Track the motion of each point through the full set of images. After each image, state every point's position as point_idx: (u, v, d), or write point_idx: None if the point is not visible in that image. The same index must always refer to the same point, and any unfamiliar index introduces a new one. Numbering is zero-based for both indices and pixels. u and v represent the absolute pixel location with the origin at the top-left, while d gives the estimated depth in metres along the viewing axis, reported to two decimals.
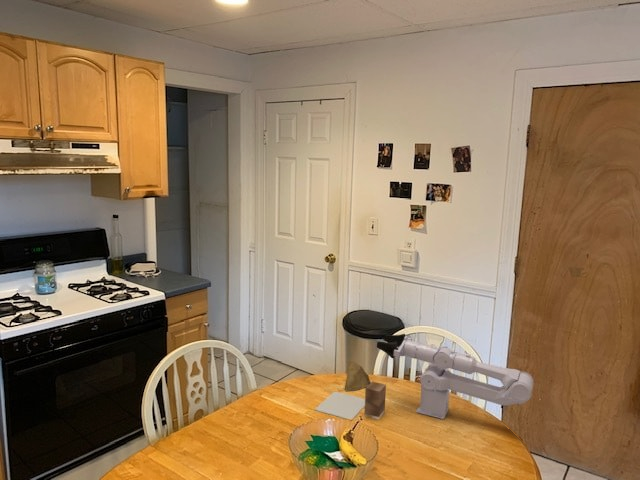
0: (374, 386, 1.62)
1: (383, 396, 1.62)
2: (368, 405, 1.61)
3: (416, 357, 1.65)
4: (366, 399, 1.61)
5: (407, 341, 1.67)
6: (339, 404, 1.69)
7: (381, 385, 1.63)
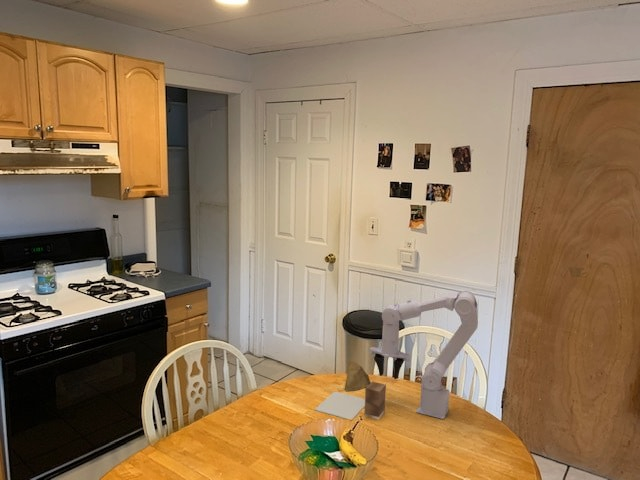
0: (374, 386, 1.62)
1: (383, 396, 1.62)
2: (368, 405, 1.61)
3: (393, 341, 1.66)
4: (366, 399, 1.61)
5: (389, 352, 1.66)
6: (339, 404, 1.69)
7: (381, 385, 1.63)
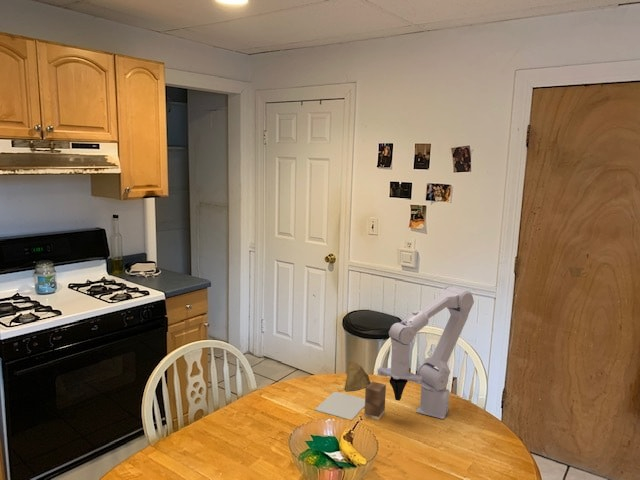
0: (374, 386, 1.62)
1: (383, 396, 1.62)
2: (368, 405, 1.61)
3: (408, 360, 1.56)
4: (366, 399, 1.61)
5: (399, 374, 1.55)
6: (339, 404, 1.69)
7: (381, 385, 1.63)
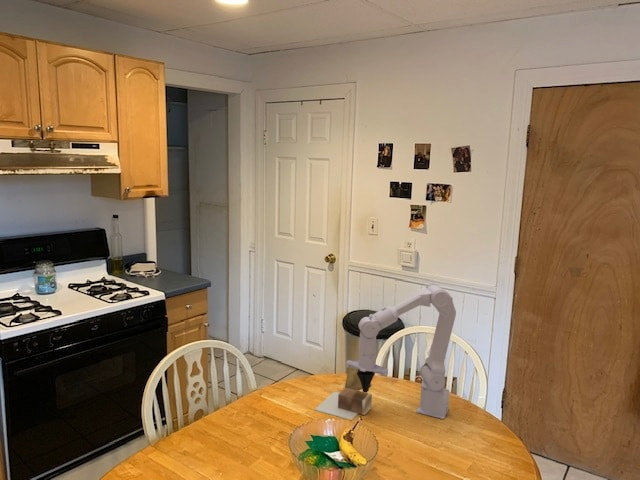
0: None
1: (351, 392, 1.68)
2: (353, 408, 1.64)
3: (373, 354, 1.60)
4: (348, 409, 1.65)
5: (365, 366, 1.60)
6: None
7: None
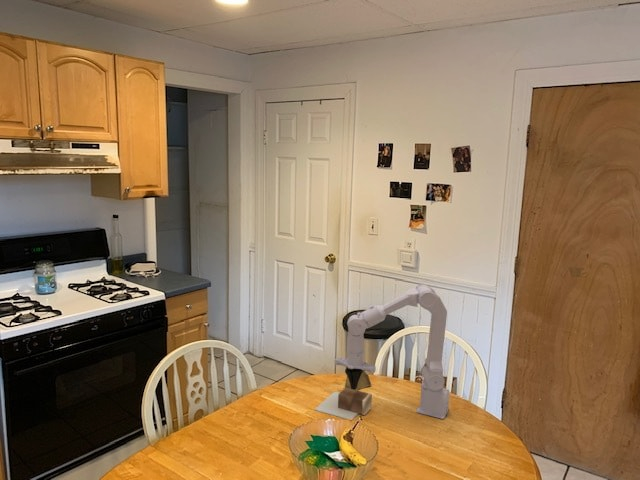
0: None
1: (351, 392, 1.68)
2: (353, 408, 1.64)
3: (360, 352, 1.62)
4: (348, 409, 1.65)
5: (353, 364, 1.62)
6: None
7: None
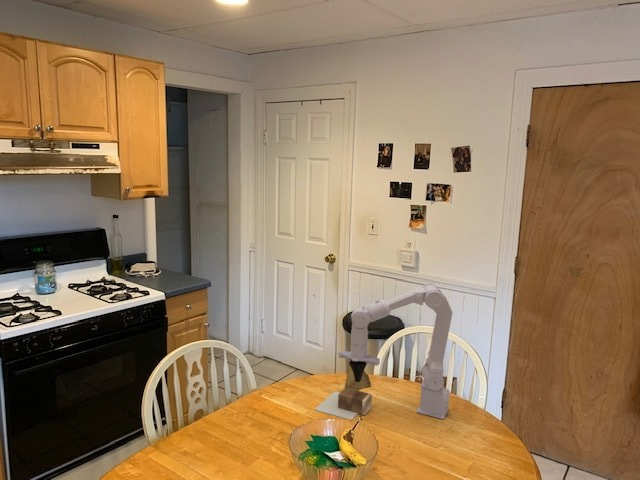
0: None
1: (351, 392, 1.68)
2: (353, 408, 1.64)
3: (364, 344, 1.62)
4: (348, 409, 1.65)
5: (357, 356, 1.63)
6: None
7: None
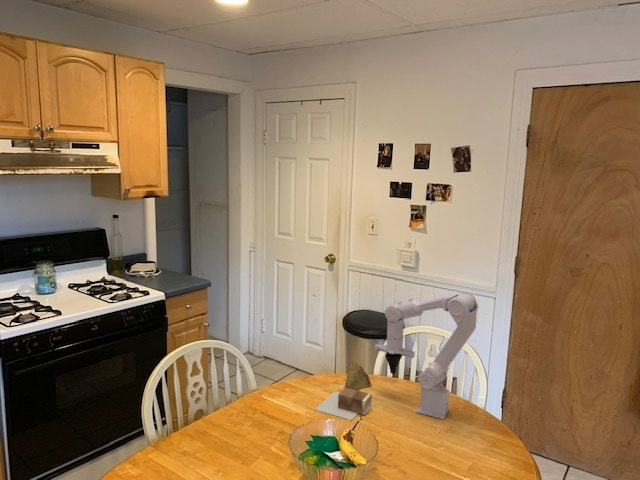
0: None
1: (351, 392, 1.68)
2: (353, 408, 1.64)
3: (395, 338, 1.70)
4: (348, 409, 1.65)
5: (394, 349, 1.71)
6: None
7: None
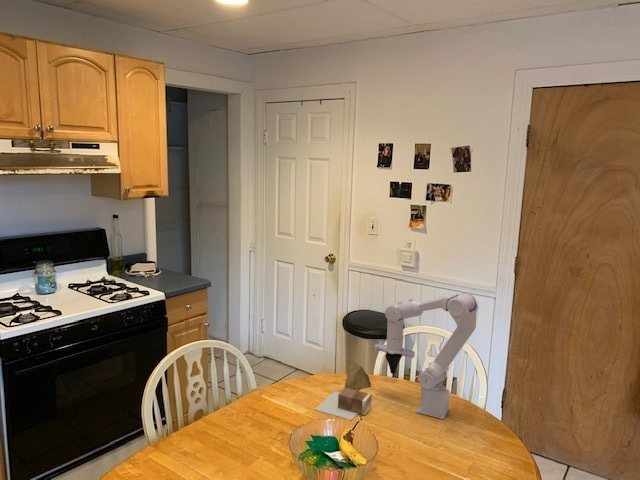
0: None
1: (351, 392, 1.68)
2: (353, 408, 1.64)
3: (395, 338, 1.70)
4: (348, 409, 1.65)
5: (394, 349, 1.71)
6: None
7: None
